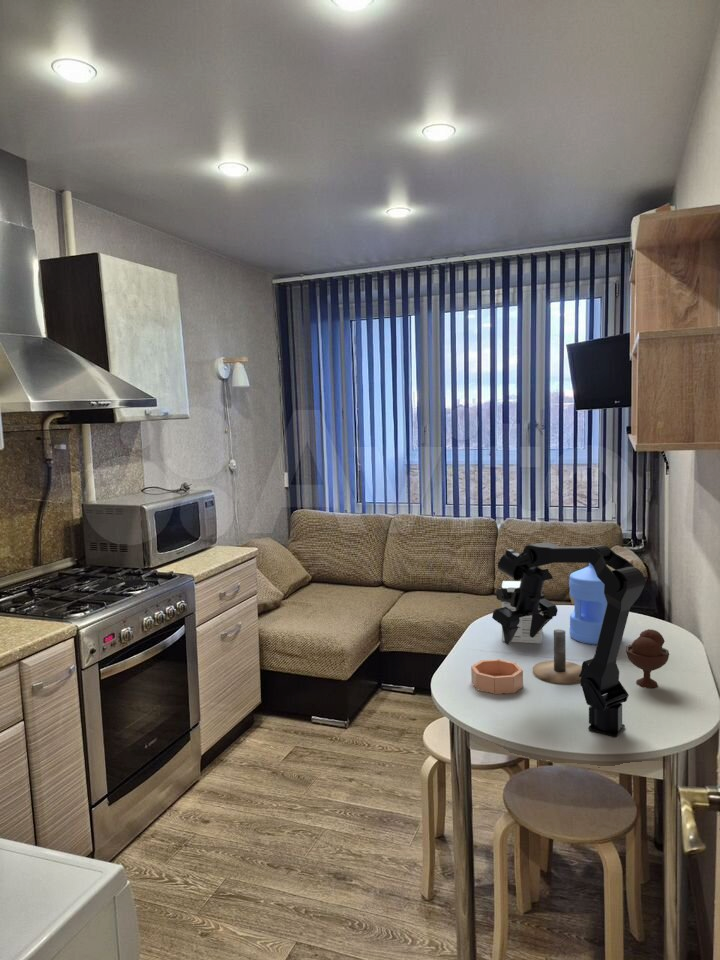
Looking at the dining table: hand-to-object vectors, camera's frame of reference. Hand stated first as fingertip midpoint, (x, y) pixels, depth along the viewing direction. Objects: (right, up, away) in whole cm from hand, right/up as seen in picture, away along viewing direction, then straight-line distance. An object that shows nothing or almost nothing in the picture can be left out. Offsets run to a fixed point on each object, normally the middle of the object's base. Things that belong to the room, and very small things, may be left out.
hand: (519, 640), depth 173 cm
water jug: (+35, -10, +42) cm, 55 cm away
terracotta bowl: (-5, -14, +6) cm, 16 cm away
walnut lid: (+15, -13, +12) cm, 23 cm away
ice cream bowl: (+35, -13, +3) cm, 38 cm away
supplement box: (+12, -10, +45) cm, 48 cm away
